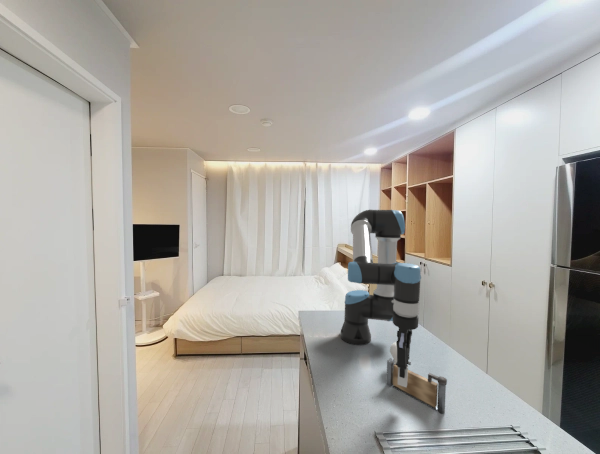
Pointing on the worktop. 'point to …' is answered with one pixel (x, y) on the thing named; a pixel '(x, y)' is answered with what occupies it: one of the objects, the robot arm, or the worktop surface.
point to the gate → (420, 386)
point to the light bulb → (394, 351)
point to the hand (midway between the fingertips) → (402, 384)
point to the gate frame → (441, 396)
